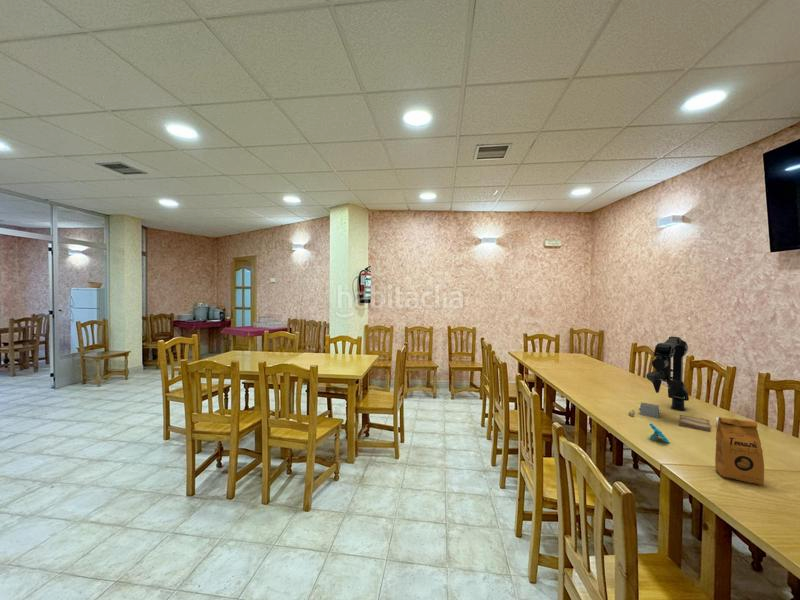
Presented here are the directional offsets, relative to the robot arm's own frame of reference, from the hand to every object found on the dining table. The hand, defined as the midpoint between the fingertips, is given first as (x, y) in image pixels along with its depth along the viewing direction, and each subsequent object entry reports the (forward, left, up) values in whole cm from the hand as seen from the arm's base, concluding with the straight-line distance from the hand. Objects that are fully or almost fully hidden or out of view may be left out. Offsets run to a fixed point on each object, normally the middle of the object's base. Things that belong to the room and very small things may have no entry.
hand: (663, 395), depth 184 cm
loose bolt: (+3, -14, -13) cm, 19 cm away
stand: (0, +13, -13) cm, 18 cm away
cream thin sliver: (-4, +24, -13) cm, 27 cm away
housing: (-2, -6, -13) cm, 15 cm away
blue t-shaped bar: (+35, 0, -13) cm, 38 cm away
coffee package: (+56, +25, -13) cm, 62 cm away
